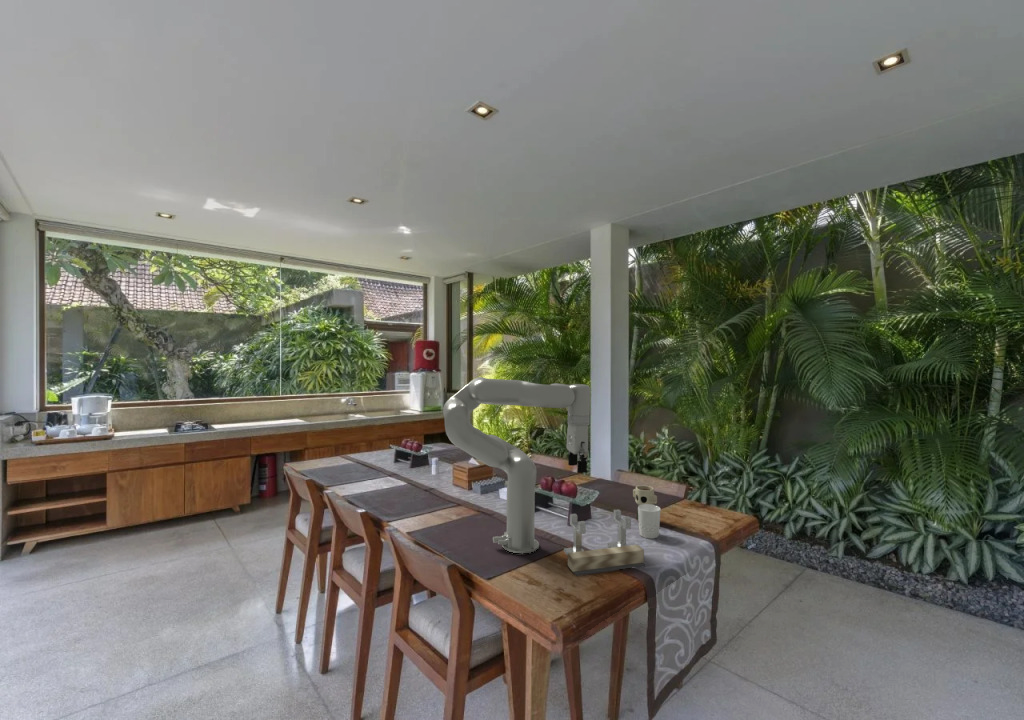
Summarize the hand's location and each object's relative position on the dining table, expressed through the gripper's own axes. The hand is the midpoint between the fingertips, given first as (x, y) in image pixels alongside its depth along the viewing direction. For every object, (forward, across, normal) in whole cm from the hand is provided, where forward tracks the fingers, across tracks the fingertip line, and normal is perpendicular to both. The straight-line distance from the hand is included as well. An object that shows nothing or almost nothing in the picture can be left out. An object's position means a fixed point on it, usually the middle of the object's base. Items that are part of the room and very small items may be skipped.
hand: (577, 468), depth 163 cm
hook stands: (+26, +10, +5) cm, 28 cm away
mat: (+26, +19, +4) cm, 32 cm away
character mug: (+25, -14, +33) cm, 44 cm away
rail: (+25, +19, +4) cm, 32 cm away
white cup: (+26, -1, +28) cm, 38 cm away
